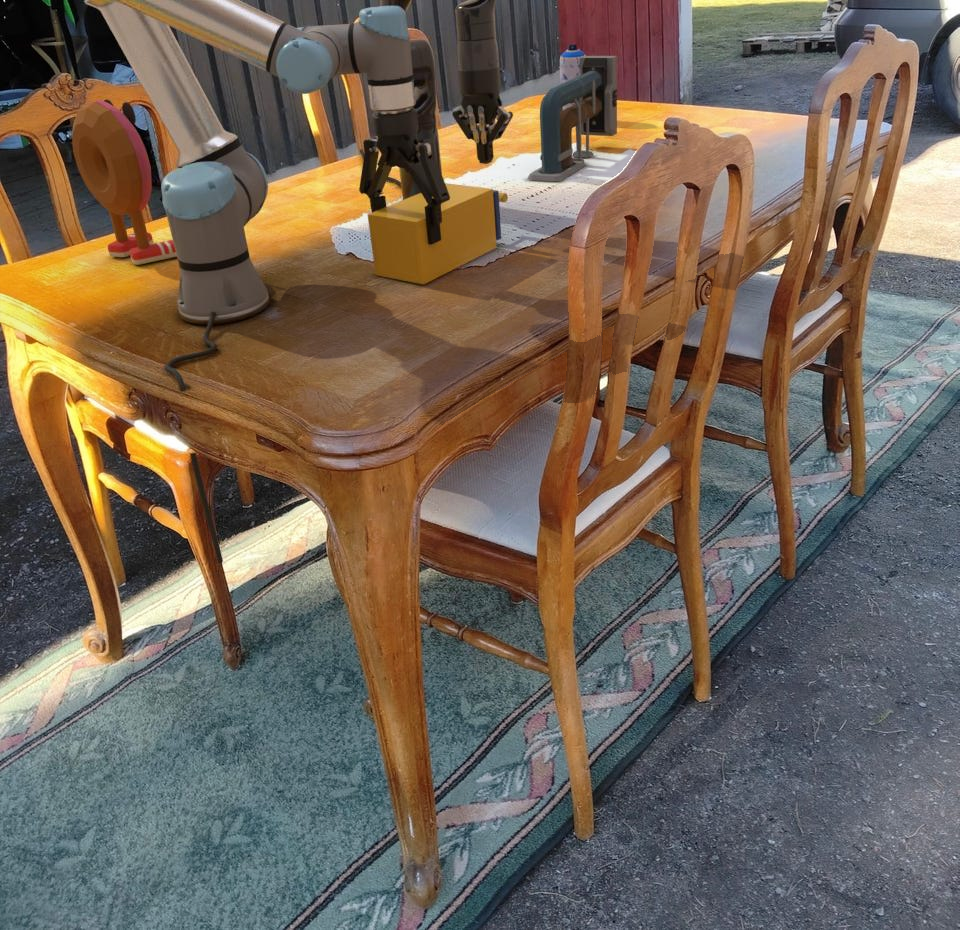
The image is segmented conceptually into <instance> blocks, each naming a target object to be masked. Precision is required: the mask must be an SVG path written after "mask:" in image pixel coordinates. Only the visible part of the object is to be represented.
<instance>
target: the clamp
mask: <svg viewBox="0 0 960 930" xmlns="http://www.w3.org/2000/svg"><path fill="white" fill-rule="evenodd" d="M569 103H575V105H573V106H571V107H569V108H567V109H565V110H563V106H565V105H567V104H569ZM539 127H540V128H539V130H540V153H541V154H540V157H539V159H540V161H541V167H539V168H537V169H535V170H533V171H532V172H530V173H529V174H528V177H527V180H530V181H543V182H544V181H545V182H561V181H563V180H564V179H566V178H567V177H569V176H571V175H573V174H574V173H576V172H578V171H579V170H581V169H582V168H583V167H585V166H586V165H587V164H586V162H585V159H584V158H588V159H589V158H591V157H593V156H594V152H593V151H591V150H590V136H599V137H614V136H616V135H617V134H618V57H617V55H586V56H583V57H581V58H580V76H578V77H576V78H574V79H572V80H569V81H567V82H565V83H563V84H561V85H560V84H558V85H557V86H554V87H552V88H550V89H549V90H548V92H547V93H545V95H544V96H543V97H542V99H541V101H540V106H539ZM573 128H575V145H576V146H575V148H576V150H575V151H574V150H573V140H572V139H573V137H572V133H573V132H572V131H573ZM582 136H585V150H583V149H582Z"/></svg>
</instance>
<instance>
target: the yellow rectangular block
mask: <svg viewBox="0 0 960 930" xmlns="http://www.w3.org/2000/svg"><path fill="white" fill-rule="evenodd" d="M445 185H446V187H447V190H448V193H449V195H450V200H448V201H446V202H444V203H442V204H441V213H442V223H440V231H441V241H438V242H436V243H434V244H432V245H431V244H428V236H427V226H426V217H425V206H427V205H428V203H427V202H426V200H425V198H424V197H423V195H422V193H419V194H417V195H414V196H412V197H409V198H407V199H404V200H402V199H401V200H400V201H399V200H398V201H397V202H395V203H392V204H389V205H388V206H387V205H386V206H387V207H384V208H382V209H380V210H377V211H375V212H372V213H371V212H370V213H367V221H368V228H369V236H370V243H371V252H372V259H373V265H374V273H375V276H379V277H383V278H384V277H385V278H389V279H393V280H399V281H402V282H408V283H413V284H418V285H426V284H428V283H429V282H431V281H433V280H436V279H438V278H439V277H442V276H443V275H446V274H448V273H449V272H451V271H453V270H456V269H457V268H459V267H462V266H464V265H465V264H467V263H469V262H471V261H473V260H475V259H477V258H479V257H481V256H483V255H485V254H487V253H489V252H491V251H493V250H495V249H498V245H497V244H498V243H497V240H496V229H495V214H494V199H493V190H494V189H493V188H489V187H479V186H471V185H464V184H455V183H447V182H445ZM432 198H433V197H432Z"/></svg>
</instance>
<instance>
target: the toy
mask: <svg viewBox="0 0 960 930" xmlns="http://www.w3.org/2000/svg"><path fill="white" fill-rule="evenodd" d="M121 109H122V111H121V110H120V109H118V108H117V107H115V106H114V104H113V103H112V101H111V100H110V99H108V98H106V99H104V100H100V99H97V100H95V101H93V102H91V103H88V104H86V105H85V106H83V107H81V108H80V109H78V110H77V111H76V114H75V116H74V117H75V118H74V120H73V124H72V130H71V140H72V142H71V143H72V152H73V156H74V160H75V163H76V167H77V170H78V172H79V174H80V176H81V178H82V181H83V182H84V184H85V186H86V188H87V189H88V191H89V192H90V193H91V195H92V196H93V197H94V198H95V199H96V201H97V202H99V203H100V205H101V206H102V207H103V208H105V209H107V211H108V214H109V217H110V221H111V225H112V228H113V233H114V236H115V239H116V240H114V241H112V242H110V243H108V245H107V251H108V255H109V256H110V257H113V258H127V257H129V256H130V260H131V262H132V263H133V264H135V266H137V265H144V264H150V263H154V262H159V261H162V260H163V261H164V260H167V259H172V258H177V255H176V251H175V247H174V243H173V239H170V240H165V241H160V242H156V243H154V237H153V235H152V233H151V232H148V231H147V226H146V225H147V224H146V222H145V218H144V214H143V212H142V211H143V210H144V209H145V208H146V206H147V205H148V203H149V201H150V198H151V194H152V189H153V188H152V168H151V163H150V159H149V155H148V152H147V150H146V146H145V144H144V142H143V140H142V137H141V136H140V134H139V132H138V131H137V129H136V127H135V126H134V125H135V124H136V120H137V119H136V113H135V110H134V108H133V106H132V104H131V103H130V102H128V101H125V102H123V103H122V107H121ZM127 215H128V216H129V218H130V221H131V226H132V230H133V232H132V233H130V234H128V232H127V227H126V223H125V218H124V216H127Z"/></svg>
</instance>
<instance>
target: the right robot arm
mask: <svg viewBox="0 0 960 930" xmlns="http://www.w3.org/2000/svg"><path fill="white" fill-rule="evenodd" d="M412 1H413V0H379V6H399V7H401V8H402V9H403V10H404V11H405V14H406V15H407V11H408V9H409V7H410V6H411V3H412ZM496 4H497V0H466V1H463V2H461V3H460V4H457V6H456V7H455V10H454V18H455V31H456V61H457V72H458V83H459V93H460V94H461V100H460V106H459V108H457V109H456V110H453V111H452V113H451V114H452V117H453V119H454V120H455V122H456V124H457V125H458V127H459V128H460V130H461V131H462V133H463V135H464V136H465V137H466V139H467V140H471V141H474V143H475V147H476V158H477V161H478V163H479V164H483V165H489V164H490V163H492V162H493V160H494V141H496V140H498V139H501V138H502V137H503V134H504V133H505V131H506V129H507V128H508V126H509V124H510V122H511V120H512V119H513V117H514V113H513V112H512V111H511V110H510V111H507V109H505V108H504V107H503V101H502V99H501V96H500V93H501V88H502V86H501V69H500V55H499V46H498V42H497V41H498V40H497V30H496V17H495V16H496V15H495V14H496ZM410 49H411V60H412V72H413V82H414V92H415V101H416V104H415V105H414V106H413V108H415V110H417V118H418V131H417V140H418V142H419V143H422V144H426V143H429V142H432V143H433V145H434V153H435V158H436V161H437V163H438V166H439V169H440V171H441V174H442V175H443V170H442V159H441V149H440V147H441V146H440V140H439V139H440V138H439V129H438V118H437V116H438V115H437V107H438V106H437V105H438V101H437V100H438V99H437V84H436V83H437V80H436V79H437V78H436V61H435V55H434V51H433V48H432V46H431V44H430V43H429V41H428V40H427V39H425V38H413V39H411V38H410ZM359 153H360V155H361V157H362V161H363V160H364V149H362V148H359ZM417 154H418V153H417ZM413 164H415V163H414V162H413ZM398 169H399V171H398V172H399V178H400V180H398V179H396V178H393V177H390V176H388V178H387V182H388V181H389V182H391V183H394V184H396V185H398V187H399V188H400V189H401V195H402V196H401V197H402V198H401V201H402V200H404V199H407V198H409V197H412V196H414V195H417V194H419V193H421V192H420V190H419V188H418V187H417V185H416V183H415V182H414V180H413V178H412V177H411V175H410V173H408V172H406V170H405V169H404V168H399V167H398Z"/></svg>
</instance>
